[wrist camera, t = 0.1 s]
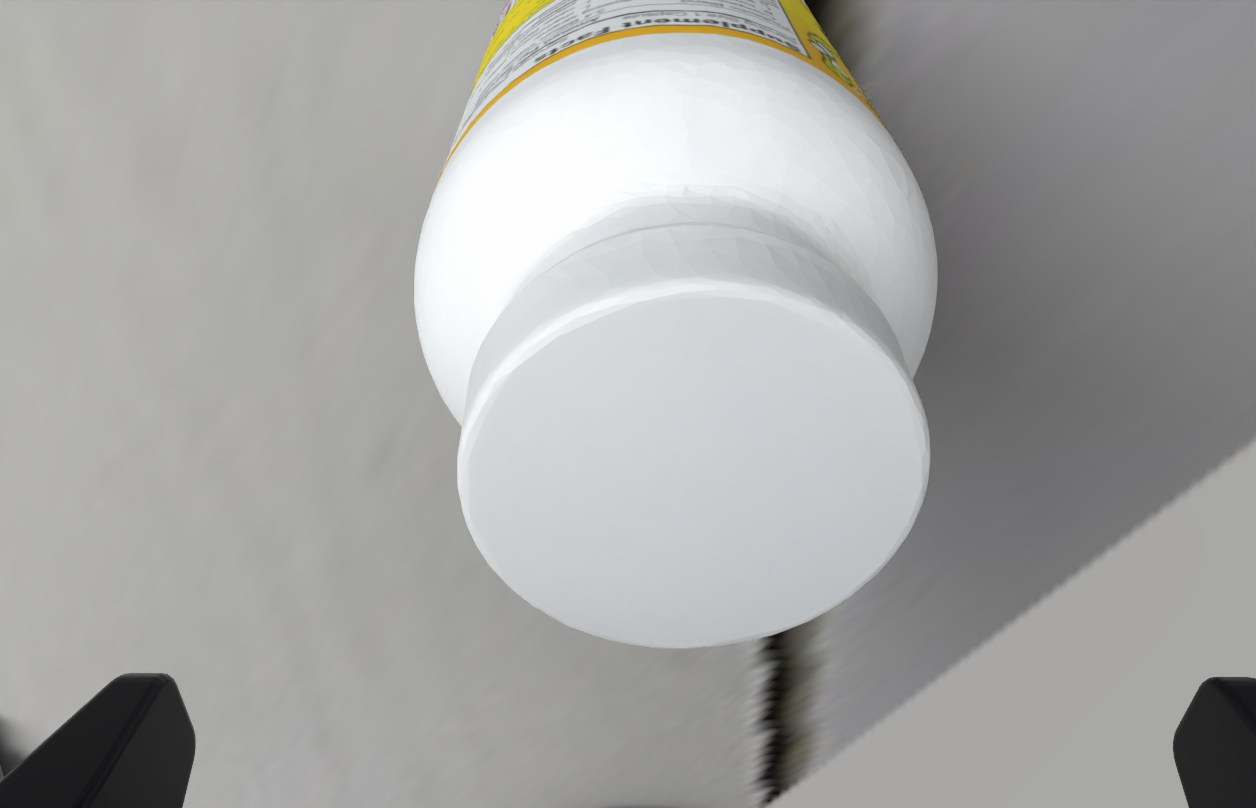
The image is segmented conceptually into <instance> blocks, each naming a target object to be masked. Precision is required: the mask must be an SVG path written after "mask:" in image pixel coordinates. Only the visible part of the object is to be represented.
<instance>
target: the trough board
mask: <svg viewBox="0 0 1256 808" xmlns="http://www.w3.org/2000/svg"><path fill="white" fill-rule="evenodd" d="M3 778H4V775H3V772H2V769H1V765H0V781H1V780H2V779H3Z"/></svg>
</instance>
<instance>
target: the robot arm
mask: <svg viewBox="0 0 1256 808" xmlns="http://www.w3.org/2000/svg"><path fill="white" fill-rule="evenodd" d="M1173 752H1174V759H1175V763H1176V766H1177V770H1178V773H1179V776H1180V779H1181V783H1182V786H1183V789H1184V792H1185V796H1186V799H1187V802H1188V806H1189V808H1256V679H1255V678H1249V677H1213V678H1209V679H1207V680H1206V681H1205V682H1203V683H1202V684H1201V686H1200V687H1199V689H1198V691H1197V693H1196V694H1195V696H1194V698H1193V700H1192V702H1191V704H1190V706H1189V707H1188V709H1187V711H1186V713H1185V715H1184V716H1183V718H1182V720H1181V722H1180V724H1179V726H1178V728H1177V730H1176V732H1175V735H1174V741H1173ZM194 756H195V733H194V729H193V726H192V723H191V721H190V718H189V715H188V713H187V710H186V708H185V705H184V702H183V700H182V697H181V695H180V692H179V689H178V687H177V684H176V683H175V681H174V679H173V678H171V677H170V676H169V675H168V674H163V673H129V674H124V675H121V676H119V677H117V678H116V679H114V680H112V681H111V682H110V683H109V684H108V685H107V686H105V687H104V688H103V689H102V690H101V691H100V692H99V693H98V694H96V695H95V696H94V697H93V698H92V699H91V700H90V701H89V702H88V703H86V704H85V705H84V706H83V707H82V708H81V709H80V710H79V711H78V712H76V713H75V714H74V715H73V716H72V717H71V718H70V719H69V720H67V721H66V722H65V723H64V724H63V725H62V726H61V727H60V728H59V729H57V730H56V731H55V732H54V733H53V734H52V735H51V736H50V737H49V738H47V739H46V740H45V741H44V742H43V743H42V744H41V745H40V746H38V747H37V748H36V749H35V750H34V751H33V752H32V753H31V754H30V755H28V756H27V757H26V758H25V759H24V760H23V761H22V762H21V763H20V764H18V765H17V766H16V767H15V768H14V769H13V770H12V771H11V772H9V773H8V774H7V775H6V776H5V777H4V778H3V779H2V780H1V781H0V808H182V807H183V803H184V799H185V794H186V790H187V786H188V782H189V778H190V773H191V769H192V765H193V761H194Z"/></svg>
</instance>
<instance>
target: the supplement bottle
mask: <svg viewBox="0 0 1256 808" xmlns="http://www.w3.org/2000/svg"><path fill="white" fill-rule="evenodd" d="M937 285H938V265H937V253H936V246H935V240H934V233H933V227H932V224H931V220H930V217H929V213H928V210H927V206H926V203H925V200H924V197H923V195H922V193H921V190H920V188H919V186H918V183H917V181H916V179H915V177H914V175H913V173H912V171H911V169H910V167H909V165H908V164H907V162H906V160H905V158H904V157H903V155H902V153H901V152H900V150H899V148H898V147H897V145H896V143H895V142H894V140H893V138H892V137H891V135H890V133H889V132H888V130H887V129H886V127H885V126H884V124H883V123H882V121H881V120H880V118H879V117H878V115H877V114H876V112H875V111H874V109H873V108H872V106H871V105H870V103H869V102H868V100H867V99H866V97H865V95H864V94H863V92H862V91H861V90H860V88H859V86H858V85H857V83H856V82H855V80H854V79H853V77H852V76H851V74H850V73H849V71H848V70H847V68H846V66H845V65H844V63H843V62H842V60H841V59H840V57H839V55H838V54H837V52H836V50H835V49H834V48H833V46H832V45H831V43H830V42H829V40H828V38H827V37H826V35H825V34H824V32H823V30H822V29H821V27H820V26H819V24H818V23H817V21H816V19H815V18H814V16H813V15H812V13H811V11H810V10H809V8H808V7H807V5H806V3H805V2H804V0H508V2H507V4H506V6H505V8H504V10H503V12H502V14H501V16H500V18H499V20H498V22H497V24H496V27H495V29H494V32H493V34H492V37H491V39H490V41H489V44H488V47H487V50H486V53H485V56H484V59H483V61H482V64H481V67H480V70H479V73H478V76H477V79H476V81H475V84H474V87H473V89H472V92H471V95H470V98H469V100H468V103H467V106H466V109H465V112H464V115H463V118H462V120H461V123H460V126H459V128H458V131H457V134H456V136H455V139H454V142H453V144H452V147H451V150H450V152H449V155H448V158H447V160H446V162H445V165H444V168H443V170H442V173H441V175H440V177H439V180H438V182H437V185H436V187H435V190H434V193H433V196H432V199H431V203H430V205H429V208H428V211H427V214H426V217H425V220H424V222H423V227H422V231H421V235H420V240H419V244H418V251H417V257H416V264H415V273H414V306H415V314H416V322H417V328H418V333H419V338H420V342H421V346H422V350H423V354H424V357H425V360H426V363H427V365H428V368H429V371H430V373H431V376H432V378H433V380H434V382H435V384H436V386H437V389H438V391H439V393H440V395H441V397H442V399H443V400H444V402H445V404H446V405H447V407H448V408H449V410H450V412H451V413H452V415H453V416H454V417H455V419H456V420H457V421H458V423H459V424H460V425H461V427H462V430H461V437H460V443H459V449H458V458H457V478H458V490H459V495H460V500H461V505H462V509H463V514H464V517H465V520H466V523H467V526H468V529H469V531H470V533H471V535H472V537H473V539H474V541H475V543H476V545H477V547H478V549H479V550H480V552H481V553H482V555H483V556H484V558H485V559H486V561H487V562H488V564H489V565H490V567H491V568H492V569H493V570H494V571H495V572H496V574H497V575H498V576H499V577H500V578H501V579H502V580H503V581H504V582H505V583H506V584H507V585H508V586H509V587H510V588H511V589H512V590H513V591H515V592H516V593H517V594H518V595H520V596H521V597H522V598H523V599H525V600H526V601H527V602H529V603H530V604H531V605H532V606H534V607H536V608H537V609H539V610H541V611H542V612H544V613H546V614H548V615H549V616H551V617H553V618H554V619H556V620H558V621H559V622H561V623H563V624H564V625H567V626H569V627H572V628H574V629H577V630H580V631H583V632H585V633H588V634H591V635H594V636H597V637H600V638H604V639H608V640H612V641H616V642H620V643H624V644H630V645H638V646H646V647H653V648H682V649H683V648H704V647H715V646H722V645H728V644H734V643H740V642H745V641H749V640H754V639H758V638H762V637H766V636H770V635H774V634H776V633H779V632H782V631H785V630H788V629H790V628H793V627H796V626H798V625H800V624H803V623H805V622H808V621H810V620H812V619H814V618H816V617H818V616H820V615H822V614H823V613H825V612H827V611H829V610H830V609H832V608H834V607H835V606H837V605H839V604H840V603H842V602H843V601H845V600H846V599H848V598H849V597H851V596H852V595H853V594H854V593H856V592H857V591H858V590H859V589H861V588H862V587H863V586H864V585H866V584H867V583H868V582H869V581H870V580H871V579H872V578H873V577H874V576H875V575H876V574H878V573H879V572H880V571H881V569H882V568H883V567H884V566H885V565H886V564H887V563H888V561H889V560H890V559H891V558H892V557H893V555H894V554H895V553H896V551H897V550H898V549H899V548H900V546H901V545H902V544H903V542H904V540H905V539H906V537H907V535H908V534H909V532H910V530H911V528H912V526H913V524H914V522H915V520H916V518H917V516H918V514H919V512H920V509H921V507H922V504H923V501H924V497H925V494H926V490H927V485H928V479H929V472H930V460H931V453H930V435H929V428H928V422H927V418H926V415H925V411H924V408H923V405H922V401H921V399H920V397H919V394H918V392H917V390H916V387H915V385H914V383H913V378H914V376H915V374H916V371H917V369H918V366H919V364H920V362H921V359H922V357H923V354H924V352H925V348H926V345H927V342H928V339H929V336H930V332H931V327H932V322H933V317H934V312H935V306H936V299H937Z"/></svg>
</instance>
